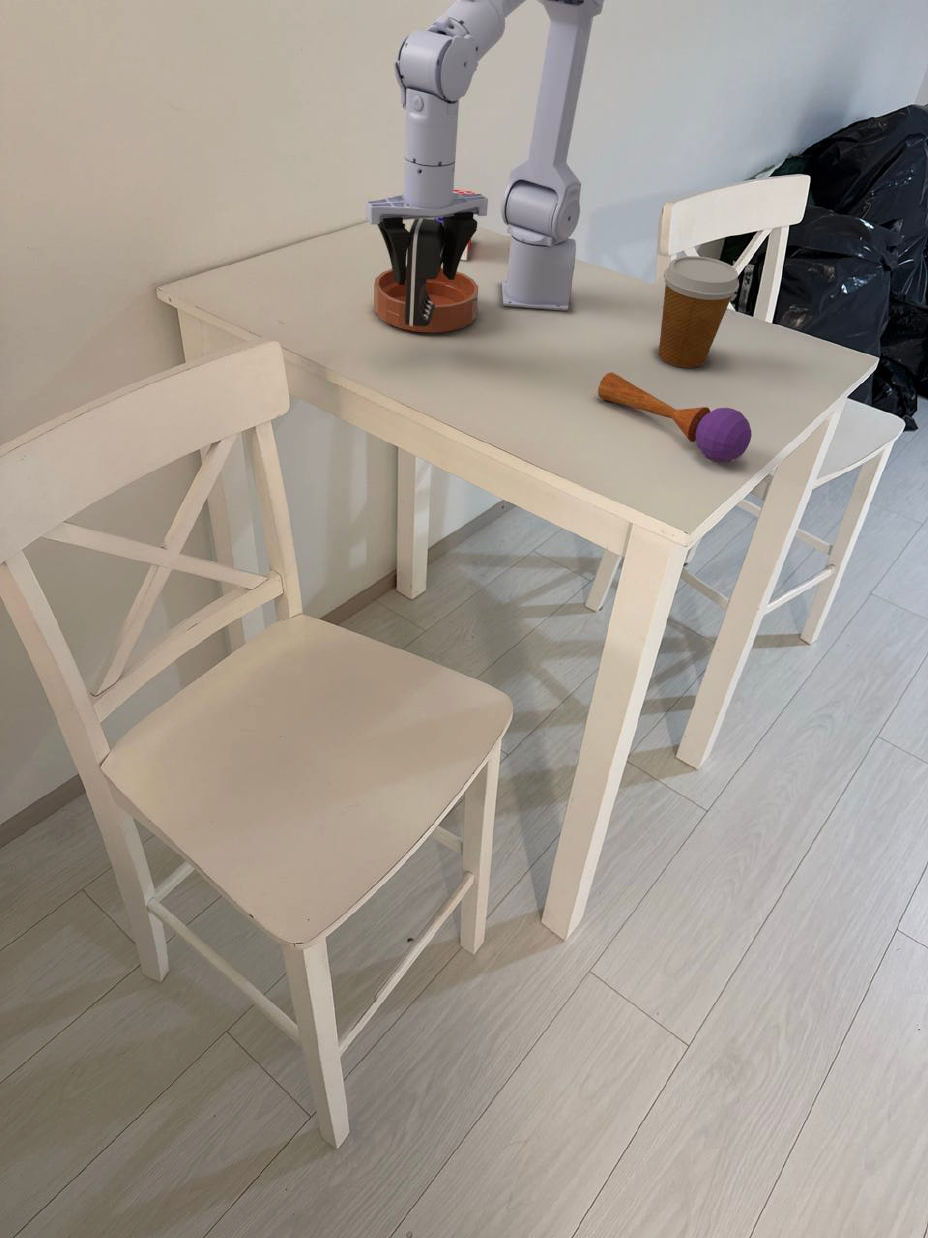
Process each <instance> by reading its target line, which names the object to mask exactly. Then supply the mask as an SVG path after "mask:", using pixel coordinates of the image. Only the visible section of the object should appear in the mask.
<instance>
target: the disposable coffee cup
mask: <svg viewBox="0 0 928 1238" xmlns="http://www.w3.org/2000/svg"><path fill="white" fill-rule="evenodd" d="M738 277H739V273H738V270H737V269H736V268H735V267H733V266H732V265H731V264H729V263H726V262H724V261H722V260H719V259H717V258H711V257H707V256H699V255H685V256H679V257H676V258H675V259H672V260H671V261H670V262H669V265H668V266H667V268H666V269H665V270H664V271H663V278H664V283H665V287H664V297H663V307H662V316H661V325H660V334H659V335H660V337H659V345H658V346H659V347H658V357H659V358H660V359H661V360H662V361H663V362H664V363H666V364H668V365H671V366H674V367H677V368H678V367H679V368H682V369H683V368H684V369H694V368H699V367H701V366H703V365H704V364H705V363H706V360H707V357H708V355H709V352H710V350H711V348H712V346H713V343H714V342H715V338H716V336H717V334H718V332H719V331H718V330H719V329H720V326H721V323H722V321H723V319H724V316H725V314H726V312H727V309H728V307H729V304H730V302H731V299H732V298H733V296H734V295H735V293H736V291H737V290H738V289H739V288H740V282H739V280H738V279H739V278H738Z"/></svg>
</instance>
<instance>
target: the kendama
mask: <svg viewBox="0 0 928 1238" xmlns="http://www.w3.org/2000/svg"><path fill="white" fill-rule="evenodd" d="M597 389H598V390H597V393H598V394H597V395H598V397H599V399H601V400H604V401H609V402H612V403H616V404H619V405H623V406H626V407H629V408H632V409H637V410H640V411H643V412H647V413H650V414H654V415H657V416H661V417H665V418H668V419H671V420H672V421H673V422H675V424H676V426H677V427H678V428H679V430H680V431H681V432H682V433H683V434H684V435H685V437H686V439H687V440H688V441H689V443H695V442H696V446H697V448H698V450H699V451H700V452H701V454H702V455H703V456H704V457H705V458H706V459H708V460H711V461H713V462H715V463H716V462H717V463H722V462H723V463H730V462H732V461H734V460H736V459H738V458H740V457H742V456H743V454H744V453H745V452H746V451H747V449H748V447H749V445H750V443H751V439H752V428H751V425H750V422H749V420H748V419H747V417H745V415H744V414H743V413H742V411H739V410H737V409H734V408H730V407H718V408H715V409H713V410H710V408H709V407H706V406H702V407H692V408H681V409H676V408H674V407H673V406H671V405H669V404H667V403H665V402H664V401H662V400H661V399H659V398H657V397H655V395H652V394H651V393H648V392H647V391H645V390H644V389H642V388H640V387H638V386H636V385H634V384H633V383H631V382H629V381H628V380H626V379H624V378H623V377H621V376H620V375H618V374H616V373H614V372H608V373H606V374H605V375H604V376H603V377H602V379H600V381H599V385H598V388H597Z"/></svg>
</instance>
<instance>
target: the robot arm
mask: <svg viewBox="0 0 928 1238" xmlns="http://www.w3.org/2000/svg"><path fill="white" fill-rule="evenodd" d="M526 1H527V0H455V1H454V2H453V3H452V5H450V6H449V7H448V8H447V9H446V10H445V11H444V12H443V13H442V14H441V15H439V17H438V18H436V19H435V21H434V22H433V23H432V24H431V25H430V26H429V27H428V28H427V30H425V29H415V30H413V31H412V32H410V33H409V34H408V35H407V36H405V38H404V39H403V40H402V41H401V42H400V43H401V44H400V46H399V48H398V52H397V58H396V60H395V61H394V67H393V68H394V75H395V79H396V81H397V84H398V86H399V88H400V104H401V105H402V108H403V109H404V111H405V118H404V119H405V120H404V156H403V157H404V159H403V194H398V195H395V196H390V197H386V198H380V199H376V200H366V201H365V220H366V221H367V222H368V223H370V225H372V226H373V225H377V227H378V230H379V231H380V234H381V236H382V238H383V242H384V244H385V246H386V249H387V253H388V256H389V260H390V265H391V269H392V270H393V277H394V280H395V281H396V282H397V283H398V284H399V285H405V281H406V266H407V248H408V242H409V238H410V233H409V230H408V229H407V228H406V223H404V221H407V220H415V219H422V218H435V217H443V227H444V260H443V263H442V268H443V274H444V275H445V276H446V277H447V278H448V279H449V280H454V279H455V275H456V272H458V268H459V265H460V262H461V261H462V260H461V257H462V255H463V252H464V250H465V248H466V246H467V244H468V242H469V241H470V239H471V240H472V238H473V236H474V235H475V233H476V232H477V229H478V221H477V220H476V219H475V218H474V215H477V216H478V217H486V216H488V206H489V198H488V197H486V196H485V195H484V194H483V193H475V194H463V193H453V191H454V190H455V171H456V157H457V142H458V141H457V139H458V125H459V110H460V109H459V106H460V99H461V98H462V97H465V96H466V94H467V92H468V90H469V88H470V87H471V82H472V79H473V76H474V74H475V73H476V71H477V69H478V66H479V62H480V61H481V60H482V58H483V57H484V56H486V54H487V53H488V52H489V51H490V50H491V49H492V48H493V47H494V46H495V45H497V43H498V42H500V40H501V39H502V37H503V35H504V33H505V30H506V18H507V17H509V16H510V15H511V14H512V13H513V12H514V11H516V10H517V9H518V8H519V7H520V6H521V5H523V4H524V3H525V2H526ZM536 1H537V2H538V3H540V4H541V5H542V6H543V8H544V9H545V11H546V14H547V15H548V18H549V21H550V23H549V28H548V34H547V41H546V48H545V53H544V59H543V66H542V72H541V77H540V83H539V91H538V97H537V103H536V109H535V115H534V121H533V125H532V126H533V127H532V132H531V137H530V145H529V150H528V157H527V158H526V159H525V160H523V161H521V162H520V163H519V164H517V165H515V166H514V167H513V168H512V169H511V170H510V173H509V177H508V182H507V184H506V188H505V190H504V192H503V194H502V198H501V202H500V214H501V218H502V221H503V223H504V224H505V225H506V226H507V230H506V233H507V234H510V235H511V236H510V244H509V254H508V265H507V273H506V274H507V275H506V281H502V283H501V294H502V305H503V306H504V307H510V308H511V307H512V308H514V307H515V308H524V309H525V308H527V309H540V310H553V311H568V310H569V308H570V306H569V304H570V297H571V292H572V287H573V278H574V271H575V265H576V256H577V255H576V254H577V241H576V239H575V238H570V237H571V236H572V235H573V233H574V232H575V230H576V228H577V226H578V223H579V219H580V214H581V204H580V203H581V202H580V200H581V199H580V198H581V188H582V183H581V181H580V180H579V178H578V177H577V175H576V174H575V172H574V171H573V170H572V168H571V167H570V166H569V165H568V163H567V161H568V155H569V149H570V144H571V140H572V139H571V138H572V133H573V128H574V122H575V118H576V113H577V107H578V102H579V95H580V91H581V85H582V80H583V75H584V69H585V64H586V58H587V53H588V48H589V42H590V37H591V31H592V26H593V21H594V18H595V17H597V16H598V15H601V14H602V12H603V8H604V3H605V0H536Z"/></svg>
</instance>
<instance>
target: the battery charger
mask: <svg viewBox="0 0 928 1238" xmlns="http://www.w3.org/2000/svg"><path fill="white" fill-rule="evenodd" d="M408 232H409V233H410V238H409V242H408V248H407V255H406V266H407V271H406V299H405V324H406V325H409V326H428V325H429V324H430V322H431V319H432V316H433V313H434V310H435V304H434V303H433V302H432V301H431V299H430V297H429V294H428V291H427V286H426V283H427V279H436V278H437V277H438V274H439V272H440V269H441V267H442V266H443V260H444V227H443V225H442V223H441V222H439V221H437V220H432V219H424V218H422V219H413V222H412V224H411V227H410V229H409V230H408Z"/></svg>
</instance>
